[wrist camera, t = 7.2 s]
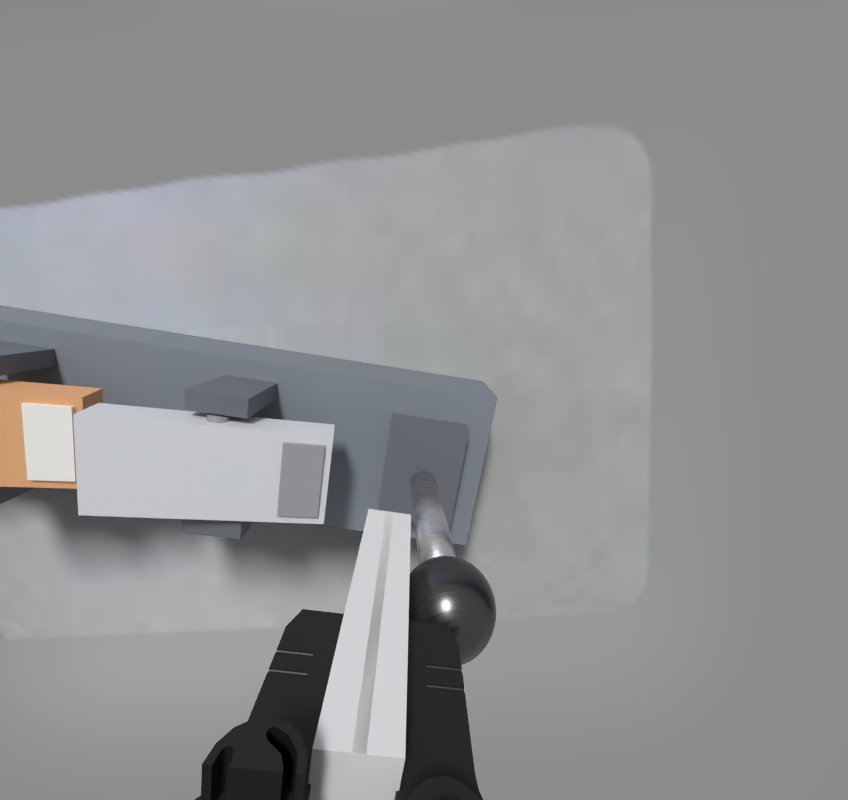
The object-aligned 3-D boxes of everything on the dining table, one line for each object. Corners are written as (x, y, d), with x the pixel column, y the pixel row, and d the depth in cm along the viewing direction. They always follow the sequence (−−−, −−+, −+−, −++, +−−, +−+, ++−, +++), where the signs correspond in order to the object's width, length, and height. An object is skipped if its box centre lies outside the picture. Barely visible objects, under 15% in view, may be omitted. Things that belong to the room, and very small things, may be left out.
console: (-86, 430, 23) (-311, 487, 16) (-107, 288, 21) (-373, 281, 14) (458, 506, 24) (474, 588, 17) (483, 381, 22) (513, 416, 15)
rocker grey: (102, 500, 16) (76, 522, 15) (98, 397, 15) (70, 409, 14) (325, 509, 18) (323, 530, 17) (335, 420, 17) (334, 433, 16)
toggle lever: (390, 499, 18) (391, 691, 9) (398, 447, 18) (408, 599, 9) (444, 504, 19) (496, 695, 10) (454, 454, 18) (519, 607, 9)
